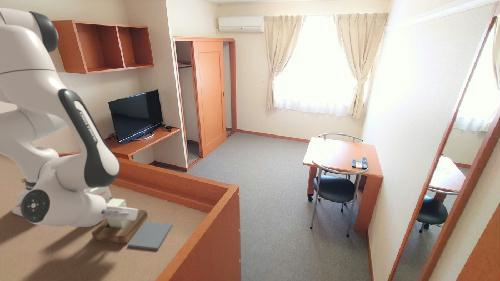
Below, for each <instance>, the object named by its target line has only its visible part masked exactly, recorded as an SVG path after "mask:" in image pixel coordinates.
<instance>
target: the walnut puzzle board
mask: <svg viewBox="0 0 500 281" xmlns="http://www.w3.org/2000/svg"><path fill="white" fill-rule="evenodd" d="M147 219H148V213H147V210H145V209H144V210H143V209H138V214H137V218H136V220H134V221H129V223H128V224H127V225H126V226H125V227H124V229H117V228H110V225H109V223H108V220H107V219H104V220H103V221H101V222H100V223H99V225H98V226H96V227H95V229H93V230H92V231H91V236H92V238H93V240H96V241H103V242H104V241H105V242H112V243H118V244H119V243H120V244H121V243H122V244H129V243H130V241H131V240H132V239H133V237H134V236H135V235H136V233H137V232H138V231H139V229H140V228H141V227H142V225H143V224H144V223H145V221H147Z"/></svg>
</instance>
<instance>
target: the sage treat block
mask: <svg viewBox="0 0 500 281" xmlns="http://www.w3.org/2000/svg"><path fill="white" fill-rule="evenodd" d="M106 205H108V206H118V207H127V208H128V206H127V202H126V199H122V198H114V197H113V198H112V200H110V201H109V202H108V203H107V204H106ZM107 220H108V223H109V225H110V228H117V229H124V227H125V226H126V225H127V224H128V223H129V221H127V220H114V219H107Z"/></svg>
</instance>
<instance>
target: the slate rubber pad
mask: <svg viewBox="0 0 500 281" xmlns="http://www.w3.org/2000/svg"><path fill="white" fill-rule="evenodd" d="M172 228H173V224H172V223H165V222H153V221H147V220H145V221H144V223H143V224H142V225H141V227H140V228H139V229H138V230H137V232H136V233H135V234H134V236H133V237H132V238H131V240H130V241H129V242H128V243H127V245H128V246H127V247H131V248H137V249H138V248H140V249H148V250H149V249H150V250H154V251H155V250H156V251H158V250H159V249H160V247H161V246H162V244H163V242H164V241H165V239H166V238H167V235H168V234H169V233H170V231H171V229H172Z"/></svg>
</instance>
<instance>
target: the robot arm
mask: <svg viewBox="0 0 500 281" xmlns="http://www.w3.org/2000/svg"><path fill="white" fill-rule="evenodd" d="M58 47H59V34H58V31H57V29H56V26H55V24H54V23H53V21H52V20H51V19H50V18H49V17H48V16H47V15H44V14H42V13H38V12H35V11H25V10H19V9H14V8H10V7H0V102H3V103H6V104H11V105H15V106H16V107H17V108H16V109H13V110H9V111H5V112H2V113H0V155H2V156H4V157H7V158H8V159H11V160H12V161H13V162H14V163H15V164H16V165H17V167H18V169H20V172H21V173H22V175H23V177H24V178H23V179H21V180H20V182H21V184H24V186H25V187H24V189H23V190H21V191H20V192H19V193H18V194H17V196H16V199H15V200H16V202H17V205H16V206H15V207H13V208H12V211H11V212H12V214H14V215H17V216H20V217H23V218H24V219H25V220H26V221H27V222H29V223H31V224H34V225H37V226H41V227H42V226H44V227H54V228H55V227H56V228H58V227H59V228H60V227H67V226H68V227H69V226H70V227H76V228H77V227H78V228H79V227H83V228H84V227H86V228H87V227H94V225H95V226H96V225H98V224H100V223H101V222H102V221H101V220H102V218H105V219H114V220H127V221H134V220H136V218H137V214H138V210H139V209H137V208H133V207H128V206H127V207H118V206H108V205H106V201H105V200H104V198H103V197H101V196H99V195H94V194H88V193H85V192H84V190H85V189H89V188H99V187H109V186H110V185H112V184H113V182H115V180H116V179H117V177H118V176H119V174H120V169H121V165H120V162H119V159H118V157H117V156H116V155H115V153H114V152H113V151H112V149H111V148H110V147H109V145H108V144H107V143H106V141H105V139H104V137H103V135H102V133H101V132H100V129H99V127H98V126H97V124H96V122H95V120H94V118H93V116H92V115H91V113H90V111H89V110H88V108H87V106H86V104H85V102H84V101H83V99H81V97H80V96H79V94H78V93H76V91H74V90H70V89H69V88H68V87H66V85H65V84H64V83H63V82H62V80H61V79H60V77H59V75H58V71H57V69H56V66H55V64H54V62H53V60H52V57H51V56H50V53H52V52H53V53H54V52H55V51H56V50H57V48H58ZM67 126H68V128H69V129H70V131H71V134H72V135H73V136H74V139H75V140H76V142H77V143H78V146H79V147H80V150H81V152H80V153H75V154H71V155H65V156H64V155H63V156H59V153H58V152H57V151H56V150H55V149H53V148H50V147H45V146H34V144H33V141H35V140H38V139H41V138H45V137H47V136H50V135H54V134H55V133H58V132H59V131H61V130H63V129H65V128H66V127H67ZM100 221H101V222H100ZM99 222H100V223H99ZM97 223H98V224H97Z"/></svg>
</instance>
